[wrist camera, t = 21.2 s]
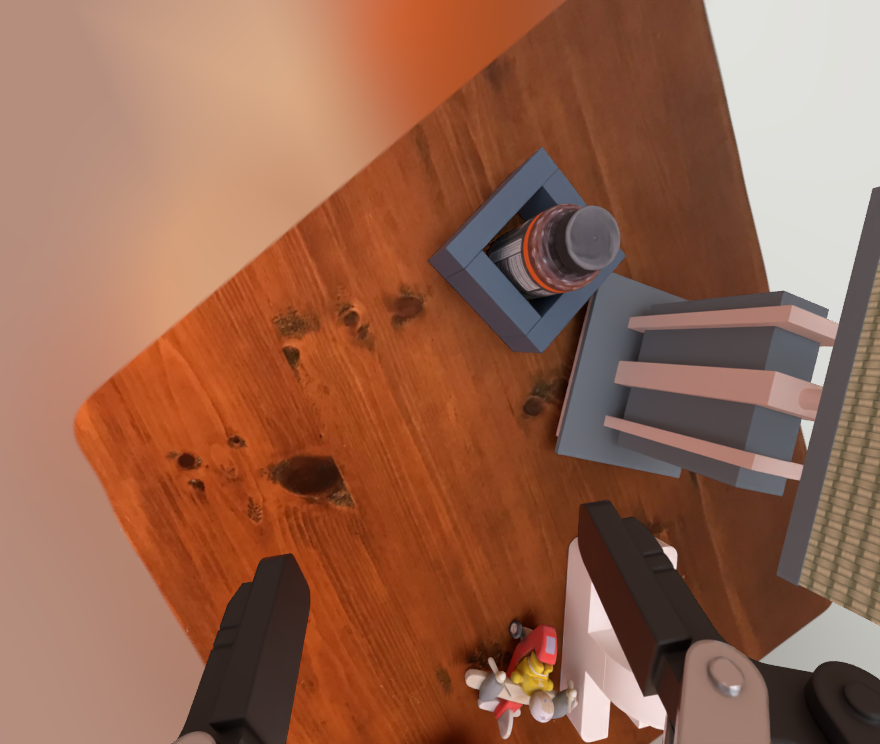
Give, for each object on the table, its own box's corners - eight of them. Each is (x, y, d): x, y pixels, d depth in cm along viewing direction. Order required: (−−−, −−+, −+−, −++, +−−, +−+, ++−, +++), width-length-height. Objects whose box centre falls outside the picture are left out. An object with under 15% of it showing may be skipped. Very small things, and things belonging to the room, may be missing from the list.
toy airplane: (536, 600, 39) (577, 649, 33) (559, 678, 41) (602, 737, 35) (451, 647, 37) (477, 707, 31) (479, 727, 39) (509, 800, 32)
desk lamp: (656, 477, 42) (1601, 861, 11) (540, 454, 38) (1524, 963, 7) (699, 306, 42) (1769, 211, 11) (587, 265, 38) (1792, -73, 7)
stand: (427, 261, 34) (445, 247, 29) (512, 172, 35) (542, 146, 31) (513, 351, 37) (542, 353, 32) (588, 266, 38) (626, 255, 33)
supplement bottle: (532, 225, 36) (622, 177, 26) (551, 290, 37) (645, 269, 27) (473, 244, 35) (542, 202, 24) (494, 311, 36) (569, 298, 25)
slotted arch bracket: (649, 528, 43) (754, 588, 32) (636, 691, 44) (734, 799, 34) (569, 537, 40) (657, 606, 30) (558, 711, 41) (638, 835, 31)
